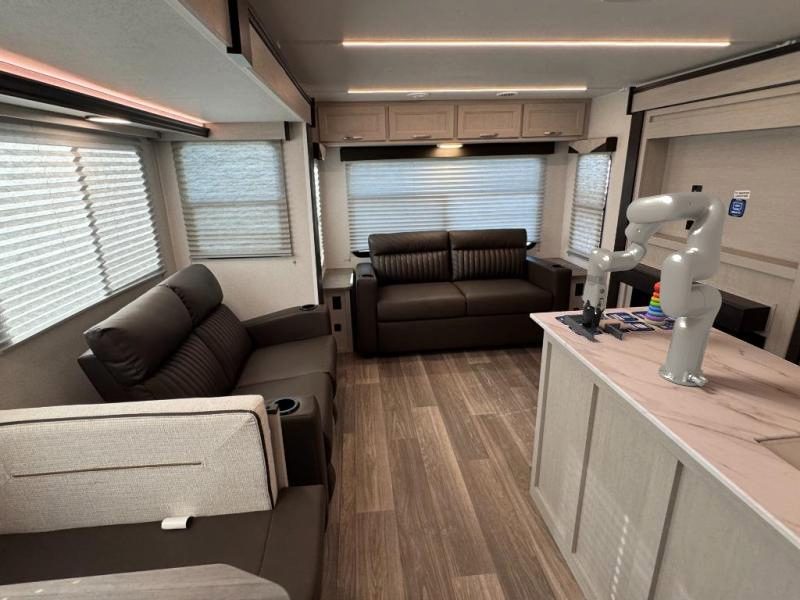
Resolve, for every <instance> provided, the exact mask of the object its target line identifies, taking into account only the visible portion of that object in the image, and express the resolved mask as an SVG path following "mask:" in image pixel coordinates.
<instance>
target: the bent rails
mask: <svg viewBox="0 0 800 600" xmlns="http://www.w3.org/2000/svg"><path fill="white" fill-rule="evenodd" d="M582 314H583V313H581V314H564V315H563V319H562V320H563V321H562V322H563V323H565V324H566V325H567V326H569V328H571V329H573V330H574V331H575V332H577V333H578V334H580V335H581V336H582V337H583V338H585V339H586V338H587V339H586V340H588V341H589V340H590V341H589V342H591V341H595V334H594V333H593V332H592V331H590V330H589V329H588V328H585V327H583V326H582V324H580V323H578V322H582ZM604 316H605V314H604V312H603V313H602V314H601V319H600V320H604V319H605V318H604ZM620 326H621V323H606V324H605V327H604V329H603V331H605V332H606V333H608V334H609V335H611V336H612V337H614V338H615V339H617V340H618V339H619V341H622V340H623V336H624V335H623V334H624V333H623V332H621V331H620V330H621V329H620Z"/></svg>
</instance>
